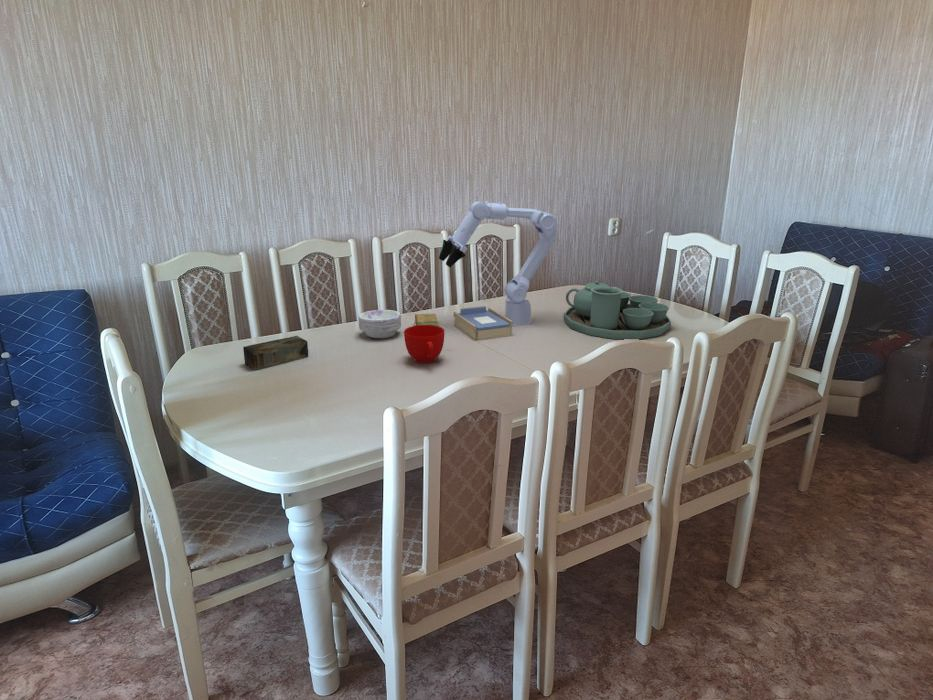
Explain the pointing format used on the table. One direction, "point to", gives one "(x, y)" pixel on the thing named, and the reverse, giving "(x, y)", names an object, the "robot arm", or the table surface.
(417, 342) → the ceramic cup
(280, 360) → the dark brown block
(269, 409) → the table surface
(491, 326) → the lid
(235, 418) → the table surface
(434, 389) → the table surface
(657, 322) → the tea set
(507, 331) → the beige shallow box
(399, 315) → the paper bowls
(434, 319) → the carton
